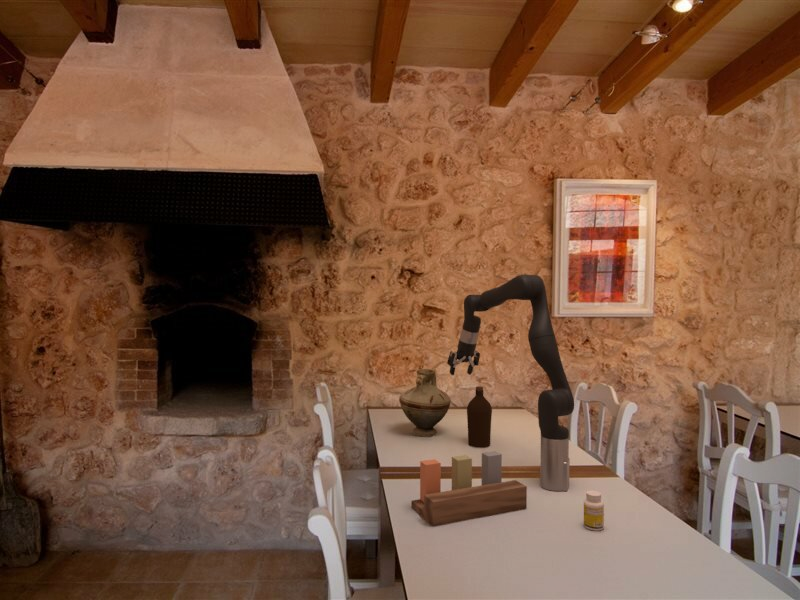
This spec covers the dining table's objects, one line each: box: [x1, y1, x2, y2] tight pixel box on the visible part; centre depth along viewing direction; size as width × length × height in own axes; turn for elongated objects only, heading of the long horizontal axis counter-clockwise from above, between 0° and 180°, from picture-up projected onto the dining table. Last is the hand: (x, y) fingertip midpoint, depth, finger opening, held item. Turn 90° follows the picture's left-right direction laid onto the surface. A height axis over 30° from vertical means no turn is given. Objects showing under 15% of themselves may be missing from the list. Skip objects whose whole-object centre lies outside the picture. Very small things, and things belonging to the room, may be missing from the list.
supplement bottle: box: [583, 490, 605, 531], centre depth 157 cm, size 5×5×10 cm
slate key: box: [481, 450, 503, 485], centre depth 179 cm, size 4×5×12 cm
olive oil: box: [466, 386, 493, 449], centre depth 238 cm, size 11×11×25 cm
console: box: [411, 479, 528, 527], centre depth 170 cm, size 15×32×7 cm, turn 113°
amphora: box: [398, 368, 451, 437], centre depth 256 cm, size 24×24×30 cm
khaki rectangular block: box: [451, 454, 473, 490], centre depth 174 cm, size 4×5×12 cm
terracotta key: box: [419, 459, 442, 502], centre depth 170 cm, size 4×5×12 cm
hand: (460, 374), depth 238 cm, fingers open, 8 cm apart
